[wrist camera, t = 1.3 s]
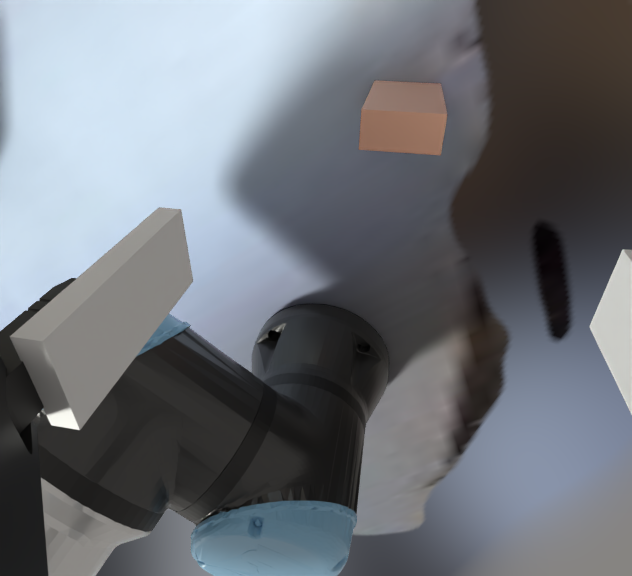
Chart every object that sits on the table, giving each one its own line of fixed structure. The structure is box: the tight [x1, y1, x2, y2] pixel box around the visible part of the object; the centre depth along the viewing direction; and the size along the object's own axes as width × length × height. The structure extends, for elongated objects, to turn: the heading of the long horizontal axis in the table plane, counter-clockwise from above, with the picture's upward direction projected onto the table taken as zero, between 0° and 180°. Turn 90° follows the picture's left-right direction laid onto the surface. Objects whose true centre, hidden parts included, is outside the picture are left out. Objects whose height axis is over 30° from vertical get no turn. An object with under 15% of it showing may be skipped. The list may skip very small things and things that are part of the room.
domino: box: [359, 80, 447, 155], centre depth 32 cm, size 2×5×10 cm, turn 89°
